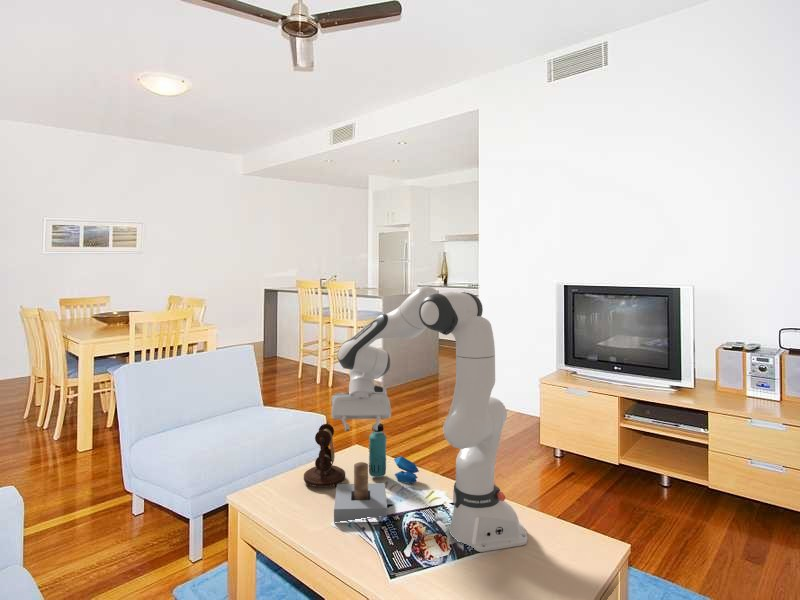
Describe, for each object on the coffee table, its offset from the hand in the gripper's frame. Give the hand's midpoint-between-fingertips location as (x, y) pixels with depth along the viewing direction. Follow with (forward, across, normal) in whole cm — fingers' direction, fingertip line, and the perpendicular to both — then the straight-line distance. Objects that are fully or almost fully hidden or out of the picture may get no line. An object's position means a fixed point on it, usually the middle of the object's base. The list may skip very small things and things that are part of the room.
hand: (361, 430), depth 157 cm
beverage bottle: (+6, +6, +27) cm, 28 cm away
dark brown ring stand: (+8, -13, +26) cm, 30 cm away
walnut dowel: (+21, 0, +11) cm, 24 cm away
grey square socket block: (+22, 0, +11) cm, 24 cm away
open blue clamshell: (+8, +16, +25) cm, 31 cm away
